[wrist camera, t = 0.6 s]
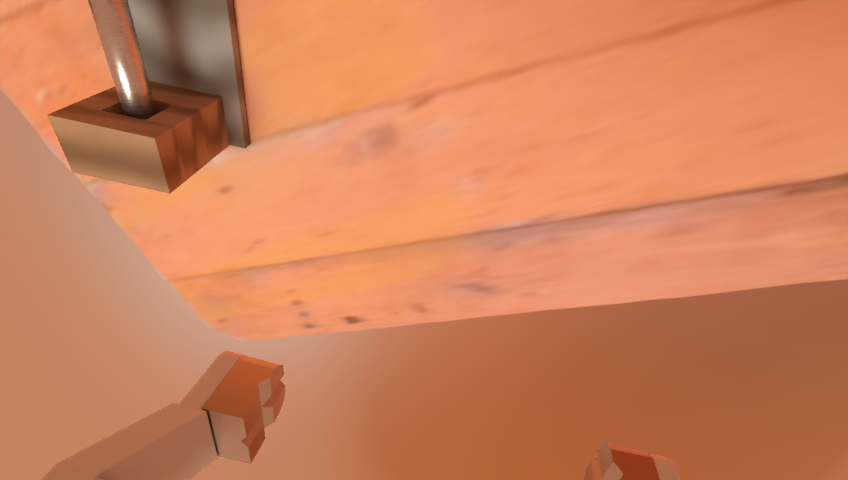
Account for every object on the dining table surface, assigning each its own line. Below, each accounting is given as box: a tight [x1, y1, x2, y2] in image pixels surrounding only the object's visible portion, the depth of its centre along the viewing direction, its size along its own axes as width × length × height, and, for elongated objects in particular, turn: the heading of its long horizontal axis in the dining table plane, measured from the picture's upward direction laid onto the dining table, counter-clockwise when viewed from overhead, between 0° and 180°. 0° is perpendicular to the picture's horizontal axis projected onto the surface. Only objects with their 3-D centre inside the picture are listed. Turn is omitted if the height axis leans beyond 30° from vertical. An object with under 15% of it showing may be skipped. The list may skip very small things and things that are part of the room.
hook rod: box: [88, 0, 157, 120], centre depth 40 cm, size 21×3×7 cm, turn 170°
